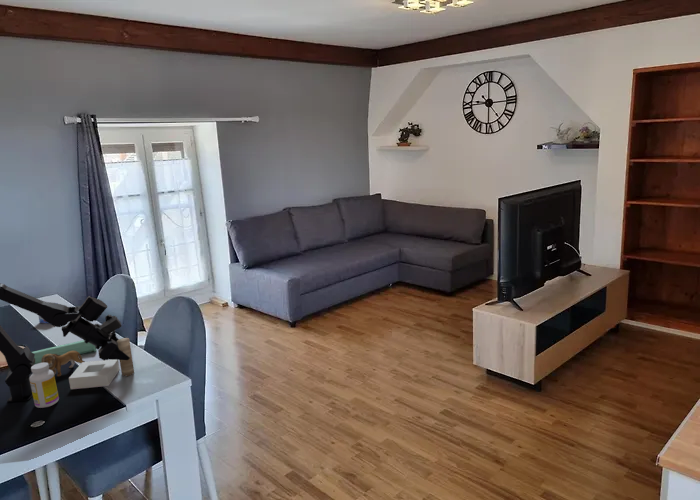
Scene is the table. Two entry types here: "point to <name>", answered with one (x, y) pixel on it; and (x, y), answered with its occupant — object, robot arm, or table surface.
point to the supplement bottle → (43, 385)
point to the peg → (124, 345)
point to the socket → (94, 374)
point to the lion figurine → (61, 360)
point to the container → (64, 350)
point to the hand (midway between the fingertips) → (127, 353)
